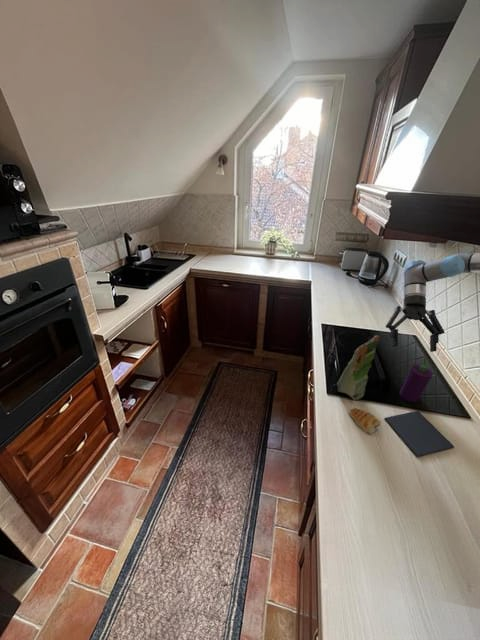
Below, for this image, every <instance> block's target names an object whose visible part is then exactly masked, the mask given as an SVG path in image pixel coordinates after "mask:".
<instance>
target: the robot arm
mask: <svg viewBox="0 0 480 640" xmlns="http://www.w3.org/2000/svg"><path fill="white" fill-rule="evenodd" d="M471 273H475V274H476V273H477V274H478V273H479V274H480V252H472V253H471V252H470V253H469V252H457V253H454V254H452V255H448V256H444V257H442V258H439V259H436V260H432V261H429V262H426V261H424V260H422V259H416V260H410V261H408V262H407V263H406V264H405V265H404V272H403V307H402V306H400V305H397V306H396V307H395V308H394V312H393V313H392V315H391V316H390V318H389V320H388V322H387V323H386V324H385V328H386V329H389V331H390V338H392V347H394V348H395V347H397V346H398V344H399V343H398V342H399V329H397V328H398V327H400V325H402V324H403V323H404V322H405V321H406V320H407V319H408V320H414V321H419V322H420V323H422V325H423V326H424V327H425V328H426V329H427V330H428V331H429V333H430V335H429V343H430V344H429V352H430V353H434V352H437V344H439V342H440V340H439V339H440V338H439V337H440V335H443V334H445V330H444V328H443V326H442V324H441V322H440V321H439V319H438V316H436V311H435V310H434V309H431V310H427V309H426V308H427V298H426V297H427V283H429V282H433V281H437V280H442V279H447V278H452V277H456V276H458V275H461V274H471ZM400 313H403V314H404V315H403V316H401V317H400V318H399V319H398V320H397V321H396V319H397V317H398V316H399V315H400ZM395 321H396V322H395ZM394 322H395V323H394Z"/></svg>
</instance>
